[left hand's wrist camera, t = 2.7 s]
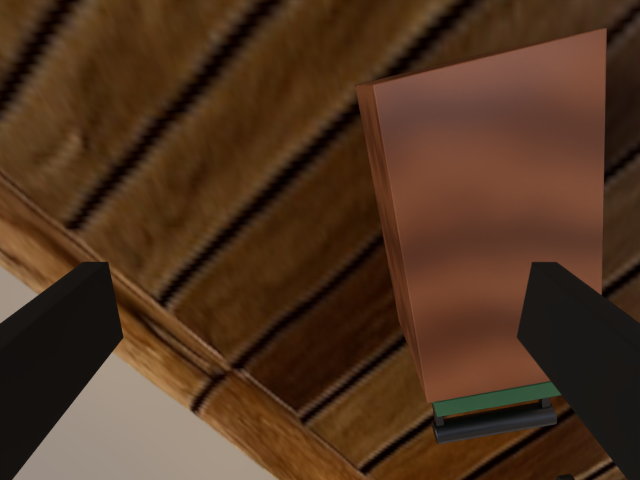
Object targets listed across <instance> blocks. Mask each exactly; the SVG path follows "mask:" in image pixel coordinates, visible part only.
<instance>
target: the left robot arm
mask: <svg viewBox="0 0 640 480" xmlns="http://www.w3.org/2000/svg"><path fill="white" fill-rule="evenodd" d="M122 339H123V333H122V328H121V323H120V318H119V313H118V308H117V303H116V299H115V294H114V289H113V284H112V279H111V274H110V269H109V264H108V262H82V263H81V264H80V265H78V266H77V267H76V268H74V269H73V270H72V271H70V272H69V273H68V274H66V275H65V276H64V277H62V278H61V279H60V280H58V281H57V282H56V283H54V284H53V285H51V286H50V287H49V288H47V289H46V290H45V291H43V292H42V293H41V294H39V295H38V296H37V297H35V298H34V299H33V300H31V301H30V302H29V303H27V304H26V305H25V306H23V307H22V308H20V309H19V310H18V311H16V312H15V313H14V314H12V315H11V316H10V317H8V318H7V319H6V320H4V321H3V322H2V323H0V480H12V479H13V478H14V477H15V475H16V474H17V473H18V472H19V470H20V469H21V468H22V467H23V465H24V464H25V463H26V461H27V460H28V459H29V458H30V456H31V455H32V454H33V452H34V451H35V450H36V449H37V447H38V446H39V445H40V443H41V442H42V441H43V440H44V438H45V437H46V436H47V434H48V433H49V432H50V431H51V429H52V428H53V427H54V426H55V424H56V423H57V422H58V420H59V419H60V418H61V417H62V415H63V414H64V413H65V411H66V410H67V409H68V408H69V406H70V405H71V404H72V403H73V401H74V400H75V399H76V397H77V396H78V395H79V394H80V392H81V391H82V390H83V388H84V387H85V386H86V385H87V383H88V382H89V381H90V380H91V378H92V377H93V376H94V374H95V373H96V372H97V371H98V369H99V368H100V367H101V366H102V364H103V363H104V362H105V360H106V359H107V358H108V357H109V355H110V354H111V353H112V351H113V350H114V349H115V348H116V346H117V345H118V344H119V342H120V341H121V340H122ZM517 339H518V340H519V341H520V342H521V344H522V345H523V346H524V348H525V349H526V350H527V351H528V353H529V354H530V355H531V357H532V358H533V359H534V360H535V362H536V363H537V364H538V366H539V367H540V368H541V369H542V371H543V372H544V373H545V374H546V376H547V377H548V378H549V380H550V381H551V382H552V383H553V385H554V386H555V387H556V389H557V390H558V391H559V392H560V394H561V395H562V396H563V397H564V399H565V400H566V401H567V403H568V404H569V405H570V406H571V408H572V409H573V410H574V412H575V413H576V414H577V415H578V417H579V418H580V419H581V420H582V422H583V423H584V424H585V426H586V427H587V428H588V429H589V431H590V432H591V433H592V435H593V436H594V437H595V438H596V440H597V441H598V442H599V443H600V445H601V446H602V447H603V449H604V450H605V451H606V452H607V454H608V455H609V456H610V458H611V459H612V460H613V461H614V463H615V464H616V465H617V467H618V468H619V469H620V470H621V472H622V473H623V474H624V475H625V477H626V478H627V479H628V480H640V323H638V322H637V321H636V320H634V319H633V318H632V317H630V316H629V315H628V314H626V313H625V312H624V311H622V310H621V309H620V308H618V307H617V306H615V305H614V304H613V303H611V302H610V301H609V300H607V299H606V298H605V297H603V296H602V295H601V294H599V293H598V292H597V291H595V290H594V289H593V288H591V287H590V286H589V285H587V284H586V283H584V282H583V281H582V280H580V279H579V278H578V277H576V276H575V275H574V274H572V273H571V272H570V271H568V270H567V269H566V268H564V267H563V266H562V265H560V264H559V263H558V262H532V264H531V269H530V274H529V279H528V284H527V289H526V294H525V299H524V303H523V308H522V313H521V318H520V323H519V328H518V333H517Z"/></svg>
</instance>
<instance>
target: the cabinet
mask: <svg viewBox="0 0 640 480" xmlns="http://www.w3.org/2000/svg"><path fill="white" fill-rule="evenodd" d="M606 35H607V29H606V28H602V29H597V30H592V31H587V32H583V33H578V34H573V35H568V36H563V37H558V38H554V39H549V40H544V41H539V42H534V43H529V44H525V45H520V46H514V47H509V48H505V49H501V50H497V51H493V52H489V53H485V54H481V55H476V56H472V57H468V58H464V59H460V60H456V61H452V62H448V63H444V64H440V65H436V66H431V67H427V68H423V69H419V70H415V71H411V72H407V73H403V74H399V75H395V76H391V77H386V78H382V79H378V80H374V81H370V82H366V83H362V84H358V85H355V87H356V92H357V98H358V103H359V108H360V114H361V119H362V125H363V130H364V135H365V141H366V146H367V151H368V157H369V162H370V168H371V173H372V178H373V184H374V189H375V194H376V200H377V205H378V211H379V216H380V221H381V227H382V232H383V237H384V243H385V248H386V254H387V259H388V264H389V270H390V275H391V280H392V286H393V291H394V297H395V302H396V307H397V313H398V318H399V322H400V325H401V327H402V330H403V333H404V336H405V339H406V342H407V344H408V347H409V350H410V353H411V356H412V359H413V362H414V365H415V368H416V371H417V374H418V377H419V380H420V382H421V385H422V388H423V391H424V394H425V397H426V400H427V402H428V403H431V402H436V401H442V400H448V399H453V398H459V397H464V396H470V395H475V394H481V393H487V392H492V391H498V390H503V389H509V388H514V387H520V386H526V385H531V384H537V383H542V382H548V381H550V380H549V378H548V377H547V376H546V374H545V373H544V372H543V371H542V369H541V368H540V367H539V366H538V364H537V363H536V362H535V360H534V359H533V358H532V357H531V355H530V354H529V353H528V351H527V350H526V349H525V348H524V346H523V345H522V344H521V342H520V341H519V340H518V339H517V333H518V328H519V323H520V318H521V313H522V308H523V303H524V299H525V294H526V289H527V284H528V279H529V274H530V269H531V264H532V262H558V263H559V264H560V265H562V266H563V267H564V268H566V269H567V270H568V271H570V272H571V273H572V274H574V275H575V276H576V277H578V278H579V279H580V280H582V281H583V282H584V283H586V284H587V285H589V286H590V287H591V288H593V289H594V290H595V291H597V292H598V293H599V294H601V295H602V247H603V194H604V141H605V88H606Z"/></svg>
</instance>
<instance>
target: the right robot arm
mask: <svg viewBox="0 0 640 480" xmlns="http://www.w3.org/2000/svg"><path fill="white" fill-rule="evenodd" d="M557 480H575V479H574V478H573V476H572V475H571V474H566V475H560V476H557Z"/></svg>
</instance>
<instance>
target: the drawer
mask: <svg viewBox="0 0 640 480" xmlns="http://www.w3.org/2000/svg"><path fill="white" fill-rule="evenodd" d="M559 395H561V394H560V392H559V391H558V390H557V389H556V387H555V386H554V385H553V383H552V382H551V381H548V382H542V383H537V384H531V385H526V386H520V387H514V388H509V389H503V390H498V391H492V392H487V393H481V394H475V395H470V396H464V397H459V398H453V399H448V400H442V401H436V402H432V407H433V413H434V419H435V420H434V421H432V427H433V432H434V435H435V439H436V442H437V443H438V444H442V443H448V442H454V441H460V440H466V439H472V438H477V437H483V436H489V435H495V434H501V433H507V432H513V431H518V430H524V429H530V428H536V427H542V426H548V425H553V424H556V423H557V417H556V413H555V411H554V408H553V407H552V405H551V404H550V397H553V396H559ZM536 399H539V402H536V403H531V404H525V405H519V406H514V407H508V408H502V409H497V410H491V411H485V412H480V413H474V414H468V415H463V416H457V417H451V418H445V419H443V416H446V415H451V414H457V413H463V412H468V411H474V410H480V409H485V408H491V407H497V406H502V405H508V404H514V403H519V402H525V401H531V400H536Z"/></svg>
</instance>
